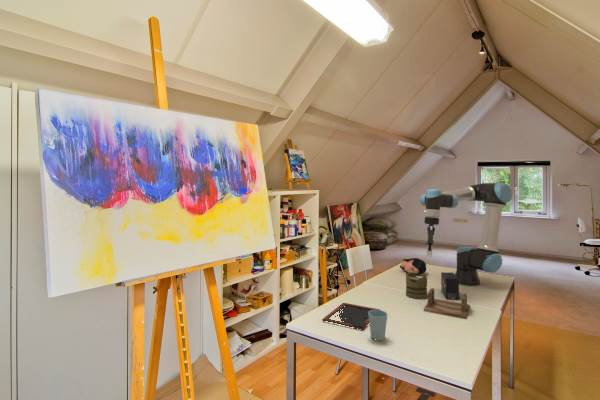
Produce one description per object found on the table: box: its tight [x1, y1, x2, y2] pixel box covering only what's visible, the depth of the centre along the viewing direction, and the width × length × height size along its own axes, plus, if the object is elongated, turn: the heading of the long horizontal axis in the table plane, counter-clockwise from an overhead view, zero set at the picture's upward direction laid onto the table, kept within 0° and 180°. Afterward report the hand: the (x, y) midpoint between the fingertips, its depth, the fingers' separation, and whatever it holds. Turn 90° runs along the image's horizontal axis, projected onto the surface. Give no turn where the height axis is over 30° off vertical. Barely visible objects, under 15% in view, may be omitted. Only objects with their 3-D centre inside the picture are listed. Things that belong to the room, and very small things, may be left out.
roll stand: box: [423, 287, 471, 320], centre depth 166 cm, size 18×19×8 cm
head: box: [399, 257, 427, 277], centre depth 233 cm, size 12×13×20 cm
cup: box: [368, 309, 388, 341], centre depth 135 cm, size 8×8×10 cm
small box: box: [440, 272, 460, 301], centre depth 185 cm, size 13×7×12 cm, turn 168°
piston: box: [405, 272, 428, 301], centre depth 186 cm, size 11×12×11 cm
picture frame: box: [321, 302, 381, 331], centre depth 158 cm, size 20×2×25 cm
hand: (428, 255), depth 182 cm, fingers open, 13 cm apart
